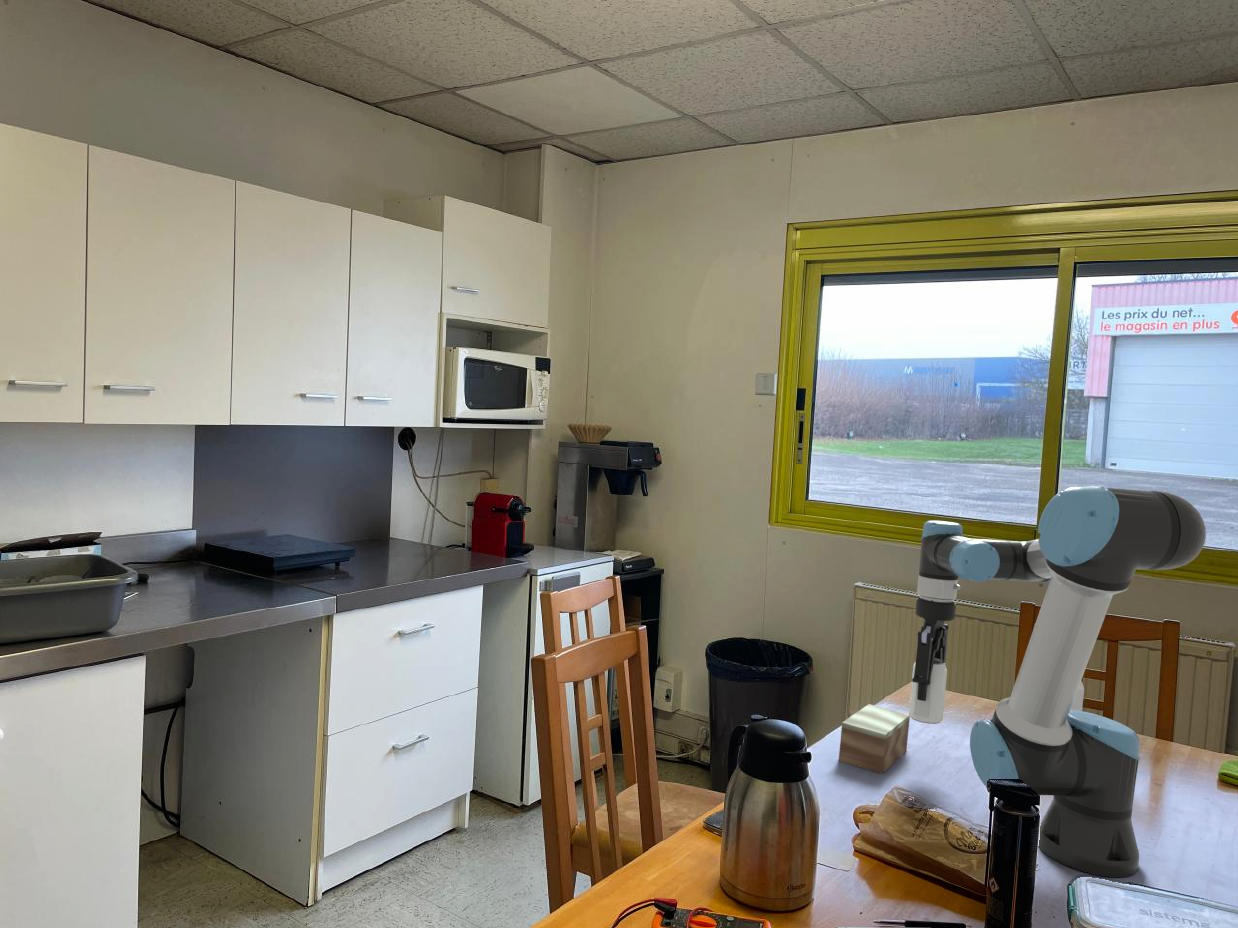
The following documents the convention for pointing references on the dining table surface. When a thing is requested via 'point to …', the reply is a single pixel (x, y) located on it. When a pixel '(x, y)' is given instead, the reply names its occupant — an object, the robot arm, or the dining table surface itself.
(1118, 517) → the robot arm
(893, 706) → the dining table surface
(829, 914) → the dining table surface
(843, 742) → the stand
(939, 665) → the can
